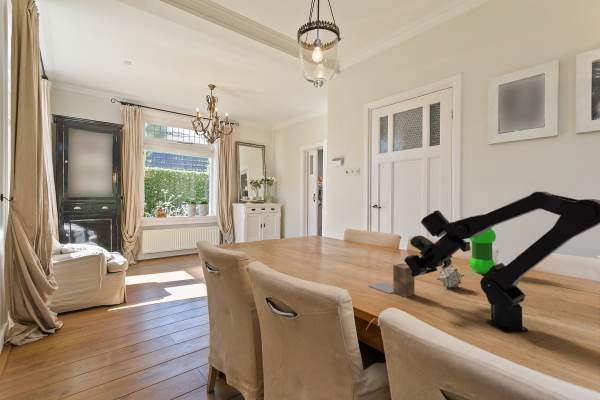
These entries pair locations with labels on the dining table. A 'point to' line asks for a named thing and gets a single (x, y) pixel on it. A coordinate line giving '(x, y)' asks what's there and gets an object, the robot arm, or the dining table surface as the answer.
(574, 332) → the dining table surface
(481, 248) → the plastic bottle
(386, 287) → the felt mat
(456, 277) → the grey spiky ball
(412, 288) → the grey rectangular block
